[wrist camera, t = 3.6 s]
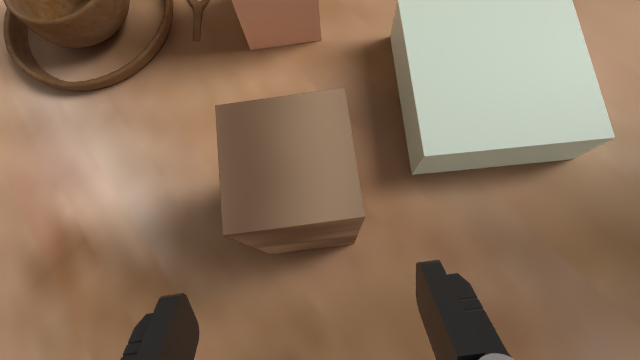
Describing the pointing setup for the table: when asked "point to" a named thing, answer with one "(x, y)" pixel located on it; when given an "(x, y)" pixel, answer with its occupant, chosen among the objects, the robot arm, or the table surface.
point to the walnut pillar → (289, 172)
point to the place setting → (80, 33)
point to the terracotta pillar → (278, 22)
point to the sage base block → (495, 83)
